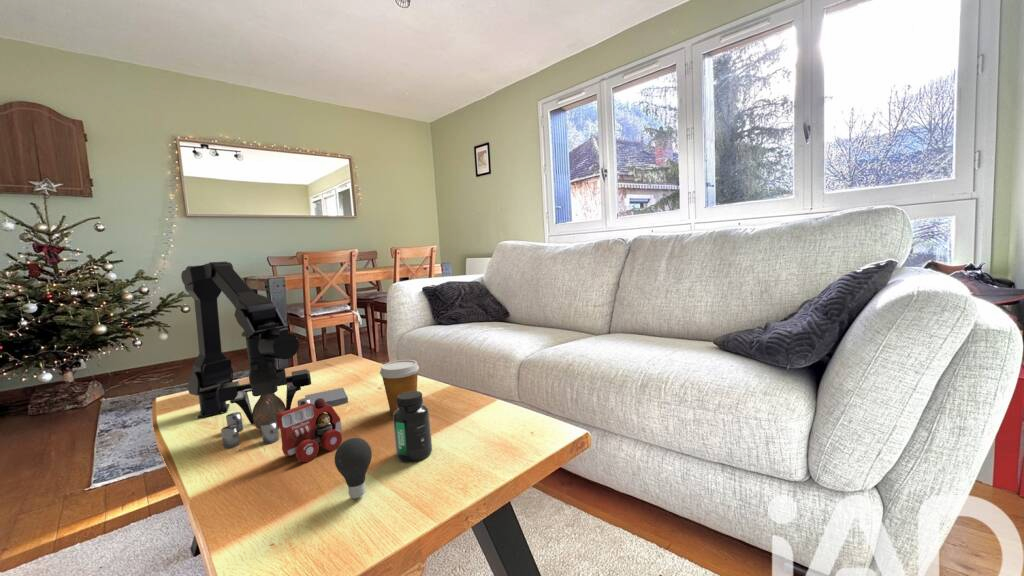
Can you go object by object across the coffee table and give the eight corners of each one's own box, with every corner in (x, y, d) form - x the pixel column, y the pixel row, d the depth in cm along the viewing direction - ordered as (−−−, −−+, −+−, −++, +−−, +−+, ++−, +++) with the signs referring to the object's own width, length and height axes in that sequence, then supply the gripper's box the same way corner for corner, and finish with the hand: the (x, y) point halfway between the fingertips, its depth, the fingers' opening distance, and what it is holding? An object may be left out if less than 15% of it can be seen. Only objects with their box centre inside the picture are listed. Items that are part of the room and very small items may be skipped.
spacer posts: (230, 426, 101) (228, 410, 101) (311, 408, 110) (309, 393, 109) (220, 455, 85) (218, 437, 85) (316, 432, 94) (314, 415, 94)
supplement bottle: (402, 467, 76) (397, 404, 75) (392, 453, 82) (386, 394, 81) (437, 455, 80) (432, 395, 79) (425, 442, 86) (420, 386, 84)
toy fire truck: (351, 442, 88) (346, 395, 87) (292, 470, 78) (286, 417, 77) (332, 435, 92) (327, 390, 91) (274, 461, 82) (268, 410, 81)
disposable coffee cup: (430, 407, 105) (426, 361, 104) (402, 421, 97) (397, 372, 96) (404, 401, 110) (400, 357, 109) (375, 415, 102) (370, 367, 101)
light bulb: (345, 490, 70) (339, 433, 69) (379, 486, 70) (373, 430, 69) (334, 510, 64) (327, 449, 63) (370, 506, 65) (364, 445, 64)
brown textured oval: (294, 421, 101) (290, 386, 100) (275, 434, 94) (270, 397, 93) (267, 422, 101) (263, 387, 101) (247, 435, 95) (242, 398, 94)
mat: (305, 400, 116) (305, 395, 116) (343, 392, 121) (342, 387, 121) (307, 411, 108) (306, 406, 107) (348, 402, 112) (347, 397, 112)
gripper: (208, 371, 84) (217, 444, 86) (308, 355, 93) (316, 421, 95) (215, 360, 94) (224, 425, 96) (306, 346, 103) (313, 406, 105)
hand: (270, 419), depth 97 cm, fingers closed on brown textured oval, 7 cm apart
